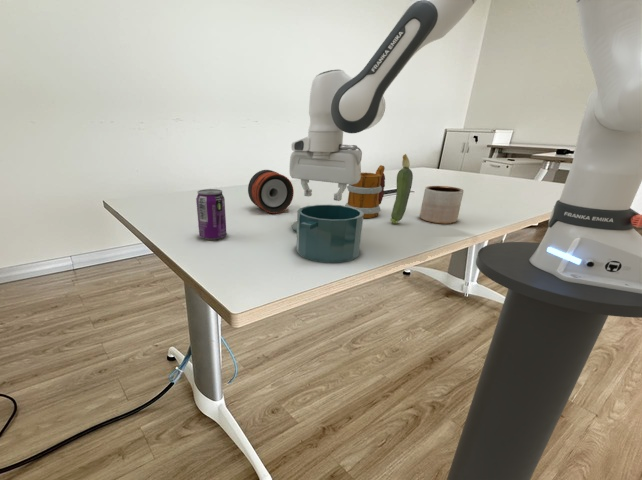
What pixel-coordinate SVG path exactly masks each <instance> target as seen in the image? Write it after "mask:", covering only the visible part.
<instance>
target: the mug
mask: <svg viewBox="0 0 642 480" xmlns="http://www.w3.org/2000/svg"><path fill="white" fill-rule="evenodd" d="M385 169H386V167H385V166H384V165H381V164H380V165H379V166H378V167H377V169H376V171H375V173H373V172H361V179H360V181H359V182H358V183H357V184H353V185H350V184H347V187H346V189H347V191H348V195H347V202H346V203H345V204H344V206H348V207H353V208H356V209H359V210H361V211H362V212H363V213H364V216H363V219H373V218H376V217H378V215H379V212H380V211H381V206H380V205H381V204H382V201H383V198H384V197H385V187H386V176H385V173H384V172H385Z"/></svg>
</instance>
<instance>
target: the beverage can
mask: <svg viewBox="0 0 642 480" xmlns="http://www.w3.org/2000/svg"><path fill="white" fill-rule="evenodd" d="M195 201H196V213H197V221H198V222H197V225H198V236H199V237H200V238H203V239H204V240H206V241H207V240H208V241H216V240H220V239H222V238H224V237H226V236H227V220H226V219H227V215H226V201H225V196H224V194H223V190H222V189H218V188H205V189H200V190H197V196H196V198H195Z"/></svg>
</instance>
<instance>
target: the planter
mask: <svg viewBox="0 0 642 480" xmlns="http://www.w3.org/2000/svg"><path fill="white" fill-rule="evenodd" d="M423 191H424V193H423V197H422V202H421V206H420V207H421V208H420V212H419V218H420V219H421V220H423V221H424V222H428V223H431V224H432V223H433V224H439V225H440V224H441V225H448V224H453V223H456V222H457V221H458V219H459V215H460V209H461V205H462V200H463V196H464V192H465V191H464V189H463V188H460V187H455V186H448V185H428V186H425V188H424V190H423Z"/></svg>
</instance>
